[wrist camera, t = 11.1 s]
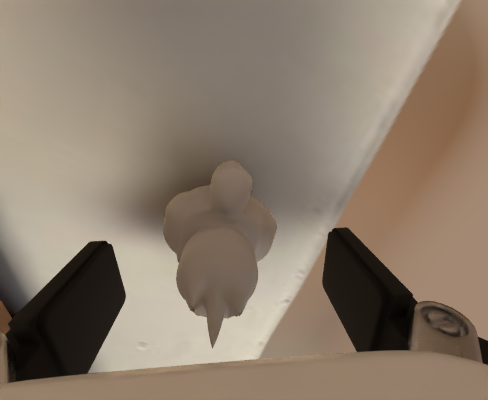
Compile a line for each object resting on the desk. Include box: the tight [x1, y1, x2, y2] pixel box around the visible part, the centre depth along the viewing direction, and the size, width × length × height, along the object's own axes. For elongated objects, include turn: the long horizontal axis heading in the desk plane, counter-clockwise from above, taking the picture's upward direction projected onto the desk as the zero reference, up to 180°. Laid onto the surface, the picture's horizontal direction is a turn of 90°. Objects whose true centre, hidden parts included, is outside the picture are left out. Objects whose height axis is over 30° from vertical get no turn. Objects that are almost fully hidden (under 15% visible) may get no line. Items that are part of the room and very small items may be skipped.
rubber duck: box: [163, 160, 277, 349], centre depth 10 cm, size 5×7×8 cm
